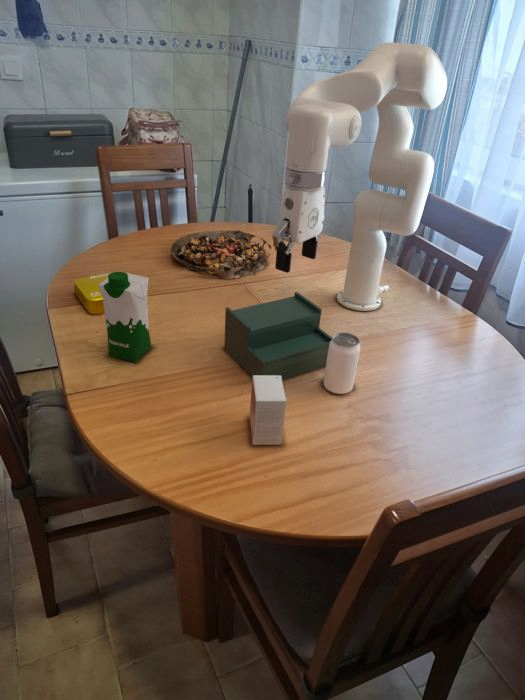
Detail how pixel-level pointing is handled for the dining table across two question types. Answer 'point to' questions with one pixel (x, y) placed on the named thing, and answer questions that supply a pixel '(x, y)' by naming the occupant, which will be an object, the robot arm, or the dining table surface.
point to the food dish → (220, 253)
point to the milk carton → (126, 315)
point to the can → (341, 363)
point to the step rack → (277, 337)
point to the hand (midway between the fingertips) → (295, 263)
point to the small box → (267, 409)
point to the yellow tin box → (91, 292)
